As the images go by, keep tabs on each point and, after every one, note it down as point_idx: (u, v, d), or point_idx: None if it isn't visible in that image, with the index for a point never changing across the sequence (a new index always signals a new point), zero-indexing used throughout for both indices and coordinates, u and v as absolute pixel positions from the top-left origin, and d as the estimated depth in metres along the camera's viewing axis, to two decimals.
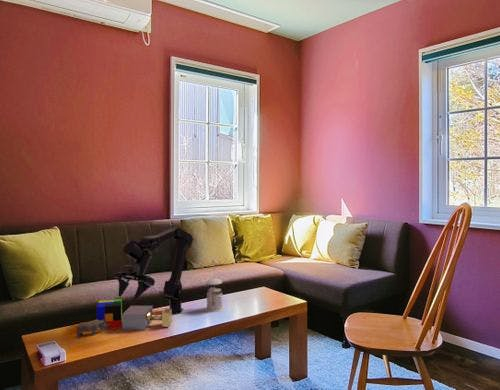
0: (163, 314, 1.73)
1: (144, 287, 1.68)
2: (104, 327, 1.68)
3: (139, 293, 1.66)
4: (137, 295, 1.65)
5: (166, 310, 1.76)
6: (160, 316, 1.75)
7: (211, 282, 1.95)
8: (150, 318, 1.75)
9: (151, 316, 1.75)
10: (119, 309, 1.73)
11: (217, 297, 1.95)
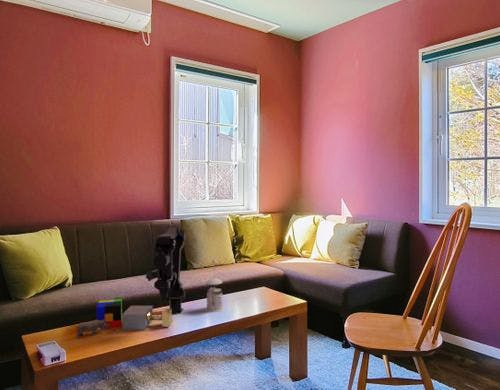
0: (163, 314, 1.73)
1: (165, 289, 1.69)
2: (104, 327, 1.68)
3: (163, 296, 1.70)
4: (163, 298, 1.70)
5: (166, 310, 1.76)
6: (160, 316, 1.75)
7: (211, 282, 1.95)
8: (150, 318, 1.75)
9: (151, 316, 1.75)
10: (119, 309, 1.73)
11: (217, 297, 1.95)
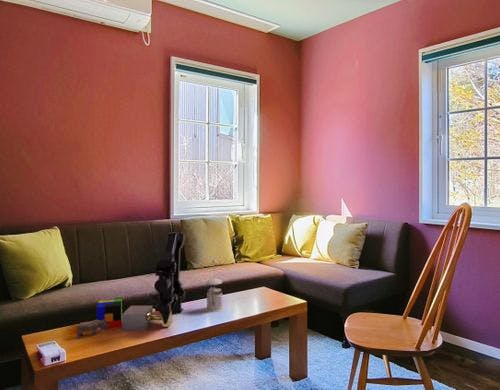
0: None
1: (167, 311, 1.71)
2: (104, 327, 1.68)
3: (165, 318, 1.72)
4: (164, 320, 1.72)
5: None
6: (160, 316, 1.75)
7: (211, 282, 1.95)
8: (150, 318, 1.75)
9: (151, 316, 1.75)
10: (119, 309, 1.73)
11: (217, 297, 1.95)
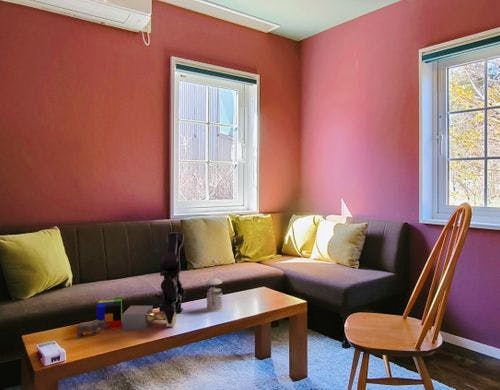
0: None
1: (171, 311, 1.71)
2: (104, 327, 1.68)
3: (169, 318, 1.72)
4: (168, 320, 1.72)
5: None
6: (164, 316, 1.75)
7: (211, 282, 1.95)
8: (154, 318, 1.75)
9: (155, 316, 1.75)
10: (119, 309, 1.73)
11: (217, 297, 1.95)
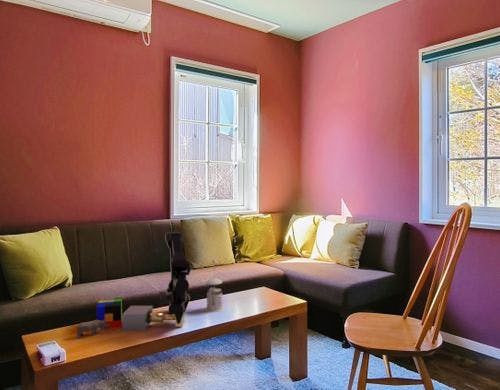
0: None
1: (180, 311, 1.71)
2: (105, 327, 1.68)
3: (178, 318, 1.72)
4: (177, 320, 1.72)
5: None
6: (173, 316, 1.75)
7: (211, 282, 1.95)
8: (163, 318, 1.75)
9: (164, 316, 1.75)
10: (119, 309, 1.73)
11: (217, 297, 1.95)
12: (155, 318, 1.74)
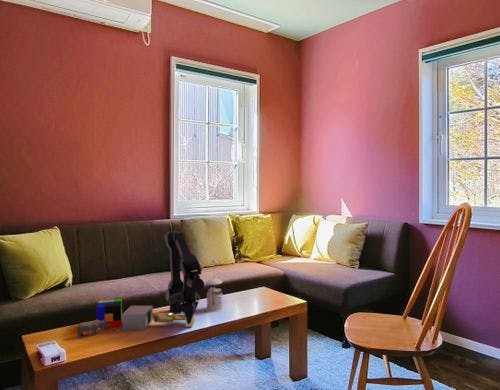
0: None
1: (190, 311, 1.71)
2: (105, 327, 1.68)
3: (188, 318, 1.72)
4: (188, 320, 1.72)
5: None
6: (183, 316, 1.75)
7: (211, 282, 1.95)
8: (173, 318, 1.75)
9: (174, 316, 1.75)
10: (119, 309, 1.73)
11: (217, 297, 1.95)
12: (165, 318, 1.74)
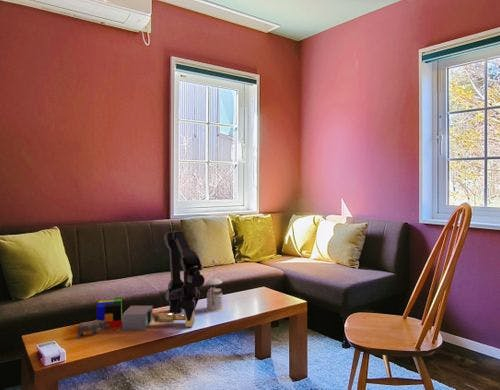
0: None
1: None
2: (105, 327, 1.68)
3: (188, 315, 1.70)
4: (188, 317, 1.70)
5: None
6: (183, 316, 1.75)
7: (211, 282, 1.95)
8: (173, 318, 1.75)
9: (174, 316, 1.75)
10: (119, 309, 1.73)
11: (217, 297, 1.95)
12: (165, 318, 1.74)
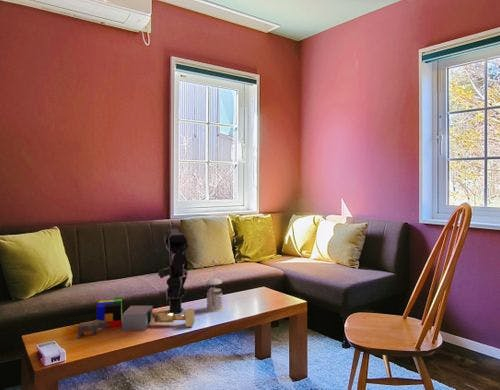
0: (186, 314, 1.73)
1: (177, 286, 1.74)
2: (105, 327, 1.68)
3: (175, 292, 1.75)
4: (175, 295, 1.75)
5: (189, 310, 1.76)
6: (183, 316, 1.75)
7: (211, 282, 1.95)
8: (173, 318, 1.75)
9: (174, 316, 1.75)
10: (119, 309, 1.73)
11: (217, 297, 1.95)
12: (165, 318, 1.74)
